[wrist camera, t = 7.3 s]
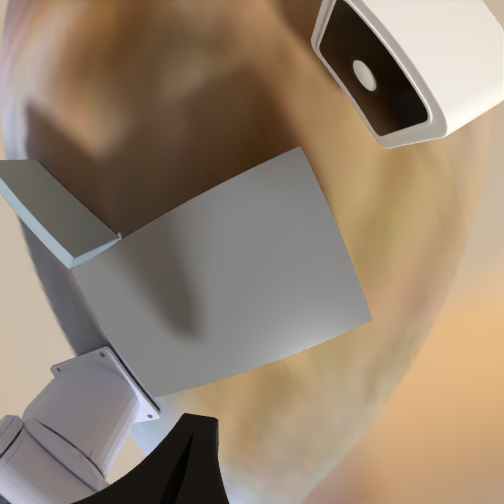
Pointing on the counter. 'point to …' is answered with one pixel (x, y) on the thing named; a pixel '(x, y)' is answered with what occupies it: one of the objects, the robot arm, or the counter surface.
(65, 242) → the side door
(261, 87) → the counter surface
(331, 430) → the counter surface
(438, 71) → the security camera
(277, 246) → the camera case
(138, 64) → the counter surface
